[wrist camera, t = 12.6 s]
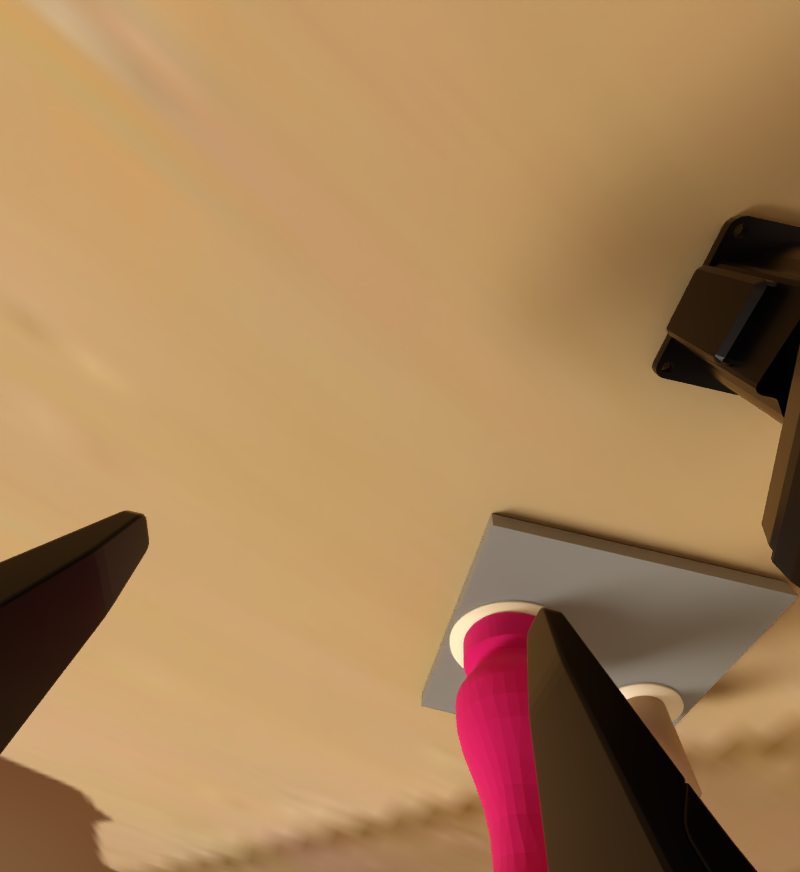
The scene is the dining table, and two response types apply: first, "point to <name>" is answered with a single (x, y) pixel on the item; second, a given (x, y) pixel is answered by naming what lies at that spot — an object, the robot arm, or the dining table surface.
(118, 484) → the dining table surface
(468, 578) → the board
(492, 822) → the pepper mill
